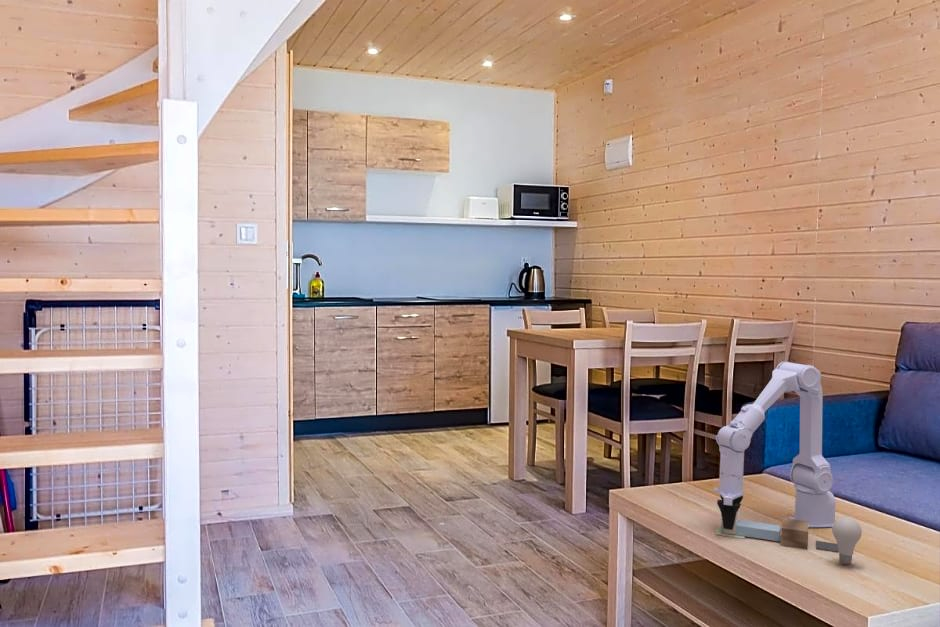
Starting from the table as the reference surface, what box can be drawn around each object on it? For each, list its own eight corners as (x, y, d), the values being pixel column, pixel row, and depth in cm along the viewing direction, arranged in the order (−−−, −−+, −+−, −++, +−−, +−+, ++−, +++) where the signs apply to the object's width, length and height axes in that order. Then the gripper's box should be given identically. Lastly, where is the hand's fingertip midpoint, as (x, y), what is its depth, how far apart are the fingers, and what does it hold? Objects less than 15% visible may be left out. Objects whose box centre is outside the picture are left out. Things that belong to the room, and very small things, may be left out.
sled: (780, 535, 194) (781, 511, 194) (779, 541, 190) (780, 517, 189) (723, 526, 200) (724, 504, 199) (721, 532, 195) (722, 509, 195)
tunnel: (807, 538, 193) (808, 521, 193) (807, 549, 185) (808, 531, 185) (781, 534, 196) (782, 517, 196) (780, 545, 188) (781, 527, 187)
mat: (746, 530, 198) (746, 529, 198) (744, 538, 192) (744, 537, 192) (718, 526, 201) (718, 525, 201) (715, 534, 195) (715, 533, 195)
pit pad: (842, 545, 189) (842, 544, 189) (843, 553, 183) (843, 552, 183) (816, 541, 191) (816, 540, 191) (816, 549, 186) (816, 548, 186)
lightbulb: (826, 564, 176) (828, 517, 176) (836, 557, 180) (838, 511, 180) (854, 571, 172) (856, 523, 171) (863, 565, 176) (866, 518, 175)
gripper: (718, 465, 204) (716, 515, 205) (711, 477, 191) (709, 531, 192) (746, 468, 201) (743, 519, 202) (741, 481, 188) (739, 536, 189)
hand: (729, 525), depth 197 cm, fingers closed on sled, 5 cm apart
